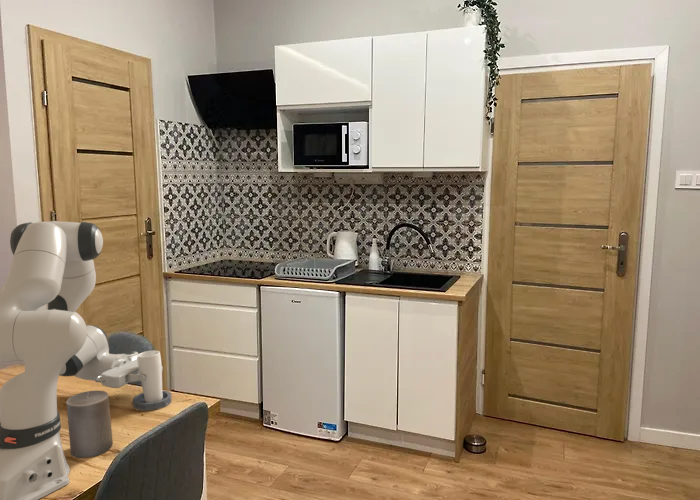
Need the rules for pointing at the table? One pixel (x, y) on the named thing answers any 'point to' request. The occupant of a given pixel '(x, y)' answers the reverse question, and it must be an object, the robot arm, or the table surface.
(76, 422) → the pillar candle
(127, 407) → the table surface
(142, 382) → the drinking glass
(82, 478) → the table surface
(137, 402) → the coaster
